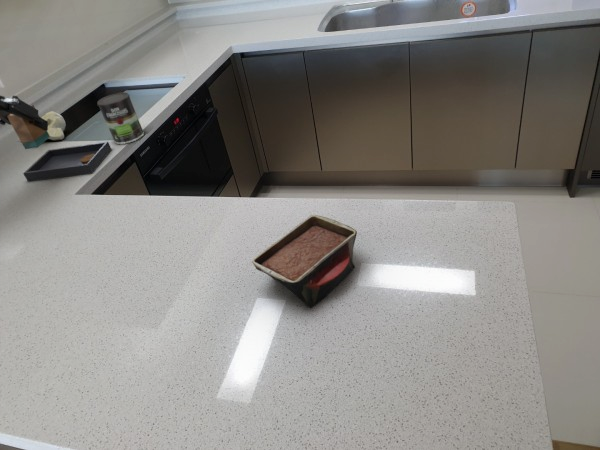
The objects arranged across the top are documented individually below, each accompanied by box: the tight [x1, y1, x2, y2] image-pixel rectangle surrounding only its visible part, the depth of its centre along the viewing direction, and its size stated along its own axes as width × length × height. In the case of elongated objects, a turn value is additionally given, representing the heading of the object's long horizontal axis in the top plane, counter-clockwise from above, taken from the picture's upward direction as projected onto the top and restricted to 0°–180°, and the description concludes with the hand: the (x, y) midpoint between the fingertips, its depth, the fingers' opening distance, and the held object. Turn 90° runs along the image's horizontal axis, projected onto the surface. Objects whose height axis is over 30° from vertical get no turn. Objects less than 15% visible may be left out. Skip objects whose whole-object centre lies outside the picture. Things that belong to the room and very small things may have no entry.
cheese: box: [40, 110, 67, 141], centre depth 169 cm, size 15×7×15 cm
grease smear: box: [81, 154, 95, 164], centre depth 145 cm, size 5×5×1 cm
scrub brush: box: [7, 104, 50, 150], centre depth 131 cm, size 4×7×10 cm, turn 177°
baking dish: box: [251, 214, 358, 309], centre depth 84 cm, size 14×18×10 cm
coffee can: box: [96, 92, 145, 145], centre depth 154 cm, size 10×10×14 cm
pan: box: [22, 141, 113, 182], centre depth 146 cm, size 22×16×3 cm
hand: (39, 127), depth 135 cm, fingers closed on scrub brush, 4 cm apart
